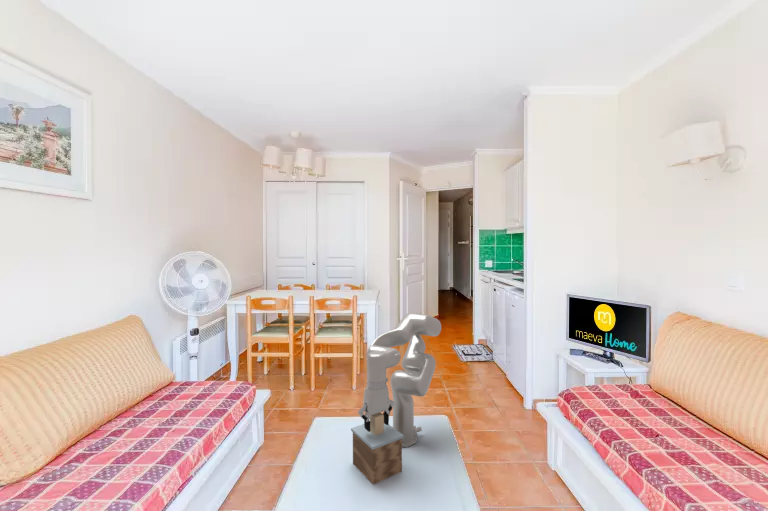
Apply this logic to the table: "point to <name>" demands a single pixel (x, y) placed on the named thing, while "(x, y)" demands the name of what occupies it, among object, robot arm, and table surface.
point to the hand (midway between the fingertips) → (376, 426)
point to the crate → (377, 459)
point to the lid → (377, 432)
